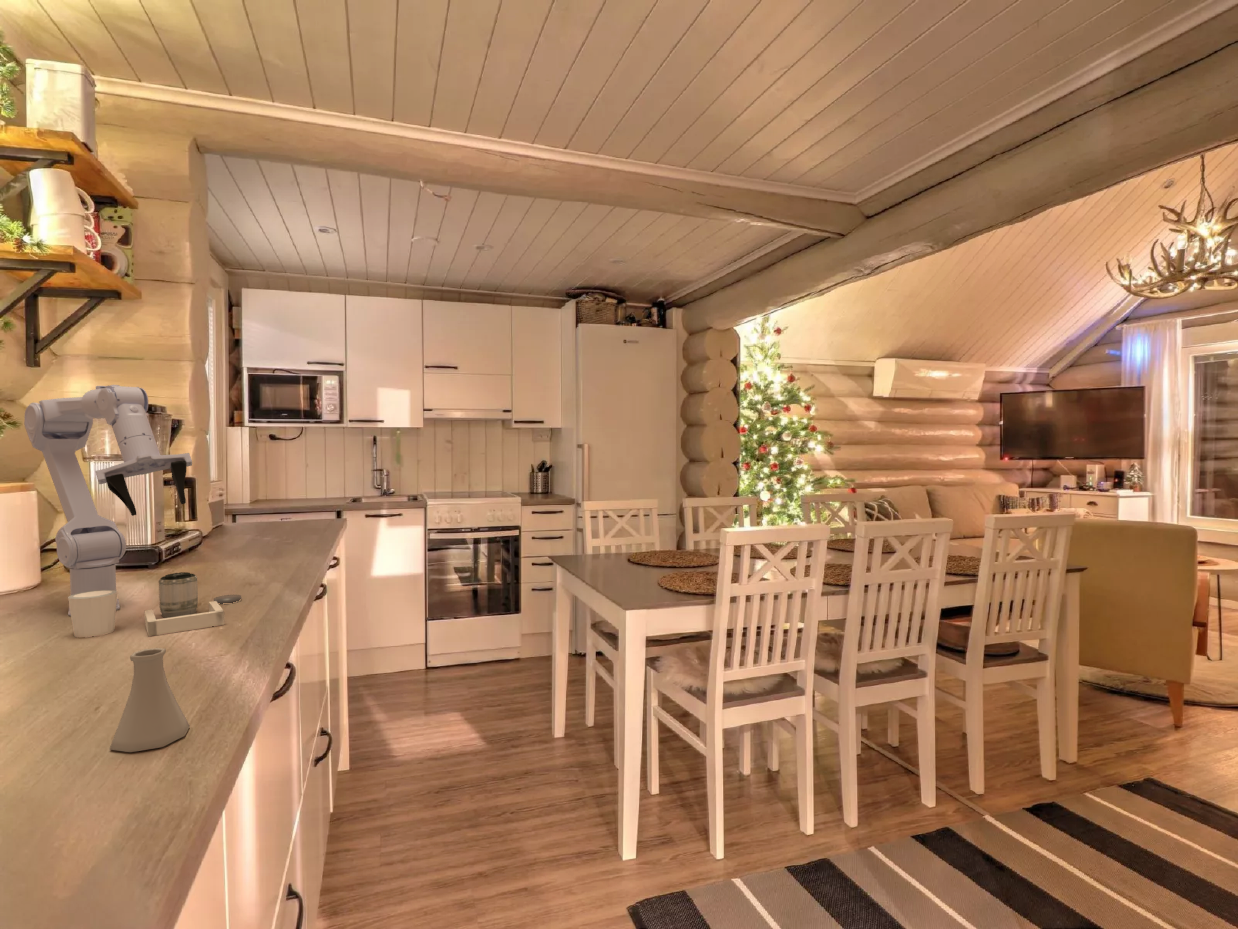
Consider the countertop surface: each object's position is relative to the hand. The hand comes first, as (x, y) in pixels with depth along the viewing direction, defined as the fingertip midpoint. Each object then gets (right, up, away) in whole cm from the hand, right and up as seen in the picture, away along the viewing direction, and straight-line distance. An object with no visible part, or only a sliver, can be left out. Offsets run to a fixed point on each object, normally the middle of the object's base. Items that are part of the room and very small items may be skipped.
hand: (159, 507), depth 121 cm
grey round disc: (+2, -21, +18) cm, 28 cm away
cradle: (+4, -22, +1) cm, 22 cm away
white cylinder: (-9, -22, -4) cm, 24 cm away
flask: (+31, -23, -46) cm, 61 cm away
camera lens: (-2, -22, +8) cm, 23 cm away
